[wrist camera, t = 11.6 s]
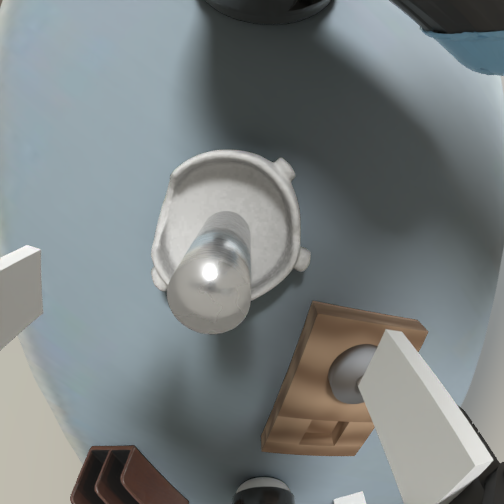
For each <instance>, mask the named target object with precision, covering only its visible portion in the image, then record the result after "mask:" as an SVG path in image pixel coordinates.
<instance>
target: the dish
mask: <svg viewBox="0 0 504 504" xmlns="http://www.w3.org/2000/svg"><path fill="white" fill-rule="evenodd" d="M295 177H296V174H295V172H294V170H293V169H292V167H291V165H290V164H289V163H288V162H287V161H285V160H284V159H283V158H278V159H277V160H276V161H275V162H271V161H269V160H267V159H266V158H264V157H262V156H260V155H257V154H254V153H251V152H246V151H241V150H214V151H210V152H205V153H202V154H199V155H197V156H194V157H192V158H190V159H189V160H187V161H185V162H184V163H182V164H181V165H180V166H179V167H177V168H176V169H175V170H174V171H173V172H172V174H171V176H170V182H169V185H168V189H167V193H166V196H165V199H164V202H163V205H162V208H161V212H160V216H159V219H158V223H157V227H156V231H155V236H154V242H153V245H152V250H151V257H152V260H153V264H154V267H153V268H152V270H151V275H152V279H153V282H154V284H155V286H156V287H157V288H158V289H159V290H161V291H166V290H167V288H168V284H169V281H170V279H171V277H172V275H173V274H174V272H175V270H176V269H177V267H178V265H179V264H180V262H181V260H182V259H183V257H184V255H185V254H186V252H187V251H188V249H189V247H190V246H191V244H192V242H193V241H194V239H195V238H196V236H197V234H198V233H199V231H200V230H201V228H202V226H203V225H204V223H205V222H206V220H207V219H208V218H209V217H210V216H211V215H213V214H215V213H217V212H220V211H231V212H235V213H237V214H239V215H240V216H242V217H243V218H244V219H245V220H246V222H247V223H248V225H249V228H250V233H251V301H252V300H254V299H256V298H258V297H260V296H262V295H263V294H265V293H267V292H268V291H270V290H271V289H273V288H274V287H275V286H277V285H278V284H279V283H280V282H281V281H282V280H284V279H285V278H286V277H287V276H288V275H289V273H290V272H291V271H292V269H293V268H294V269H295V270H297V271H299V272H303V271H304V270H306V269H307V267H308V266H309V264H310V258H311V253H310V251H309V250H308V249H306V248H304V247H301V246H300V237H301V222H300V209H299V204H298V201H297V197H296V194H295V191H294V189H293V186H292V184H291V182H292V180H293V179H294V178H295Z"/></svg>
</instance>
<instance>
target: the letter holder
mask: <svg viewBox="0 0 504 504" xmlns="http://www.w3.org/2000/svg"><path fill="white" fill-rule="evenodd" d="M70 501H71V503H72V504H189V501H188V500H187V499H185V498H184V497H183V496H182V495H181V494H180V493H179V492H178V491H177V490H176V489H175V488H174V487H173V486H172V485H171V484H170V483H169V482H168V481H167V480H166V479H165V478H164V477H163V476H162V475H161V474H160V473H159V472H158V471H157V470H156V469H155V468H154V467H153V466H152V465H151V464H150V462H149V461H148V460H147V459H146V458H145V457H144V456H143V455H142V454H141V453H140V451H139V450H138V449H137V448H136V447H135V446H134V445H132V446H92V447H91V448H90V450H89V452H88V455H87V457H86V459H85V462H84V464H83V467H82V469H81V471H80V474H79V476H78V478H77V481H76V484H75V486H74V489H73V491H72V494H71V497H70Z"/></svg>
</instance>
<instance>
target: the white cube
mask: <svg viewBox="0 0 504 504" xmlns="http://www.w3.org/2000/svg"><path fill="white" fill-rule="evenodd" d="M333 500H334V504H366V501H365V498H364V494H363V491H361V492H358V493H355V494H352V495H348V496H345V497H341V498H337V499H333Z"/></svg>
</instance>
